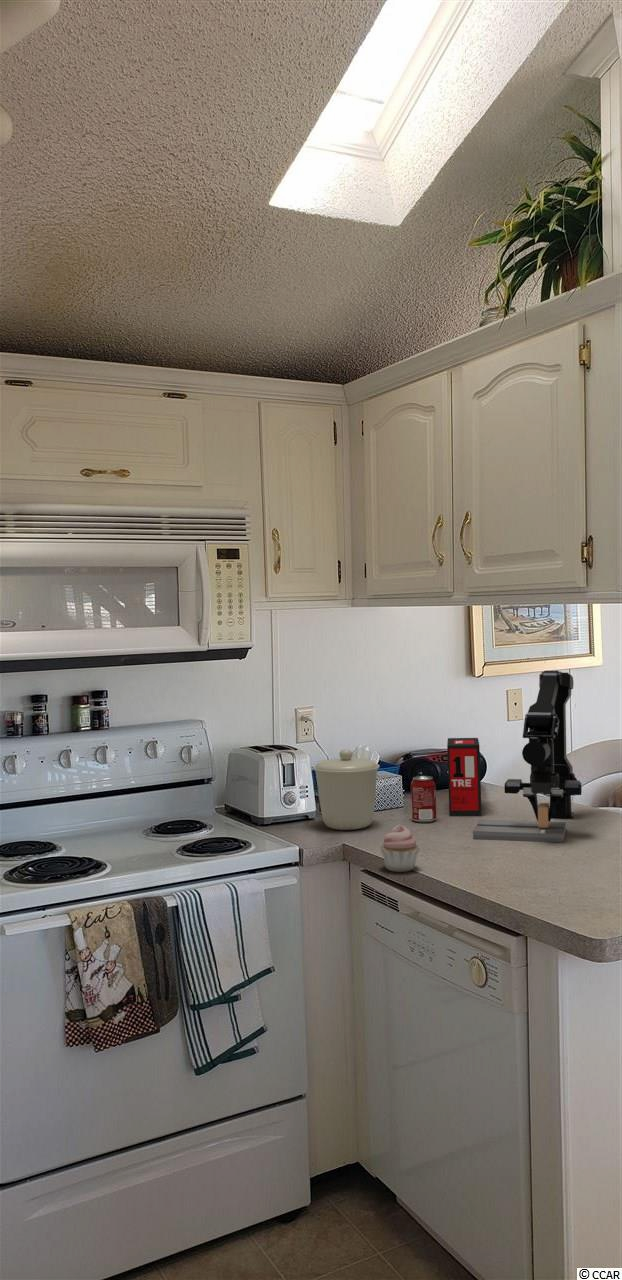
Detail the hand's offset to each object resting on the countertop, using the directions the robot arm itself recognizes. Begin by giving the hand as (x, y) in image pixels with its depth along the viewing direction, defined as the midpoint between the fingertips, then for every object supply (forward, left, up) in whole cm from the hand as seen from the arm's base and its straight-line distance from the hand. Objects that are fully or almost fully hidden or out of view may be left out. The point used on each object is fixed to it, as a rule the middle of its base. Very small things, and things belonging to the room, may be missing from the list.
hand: (543, 820), depth 236 cm
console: (0, -6, -4) cm, 7 cm away
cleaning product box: (-28, -24, -4) cm, 37 cm away
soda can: (-12, -33, -4) cm, 35 cm away
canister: (-2, -52, -4) cm, 52 cm away
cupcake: (+38, -29, -4) cm, 48 cm away
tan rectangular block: (0, 0, -2) cm, 2 cm away
